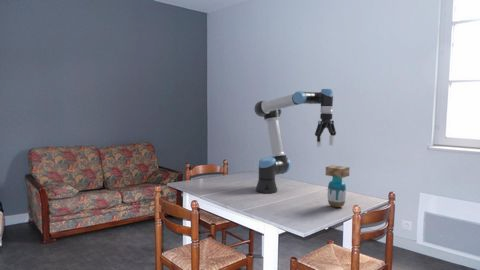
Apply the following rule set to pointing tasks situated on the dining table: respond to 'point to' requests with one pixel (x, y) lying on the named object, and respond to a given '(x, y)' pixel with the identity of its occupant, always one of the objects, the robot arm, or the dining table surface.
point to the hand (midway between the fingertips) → (325, 146)
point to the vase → (336, 192)
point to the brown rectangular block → (337, 171)
